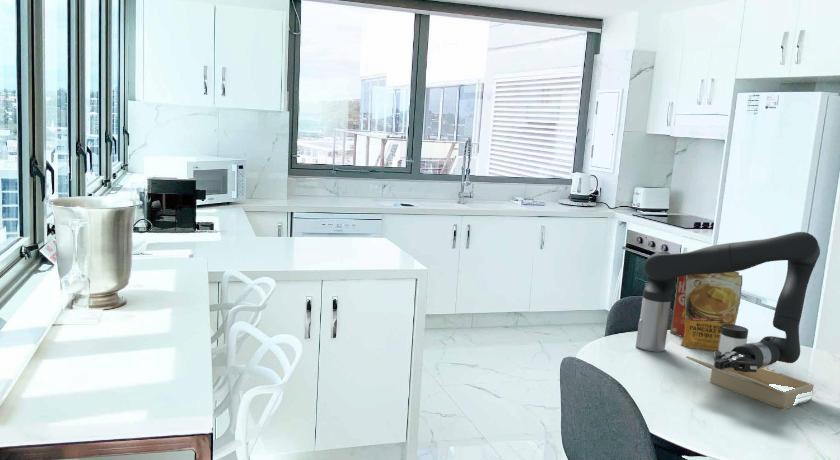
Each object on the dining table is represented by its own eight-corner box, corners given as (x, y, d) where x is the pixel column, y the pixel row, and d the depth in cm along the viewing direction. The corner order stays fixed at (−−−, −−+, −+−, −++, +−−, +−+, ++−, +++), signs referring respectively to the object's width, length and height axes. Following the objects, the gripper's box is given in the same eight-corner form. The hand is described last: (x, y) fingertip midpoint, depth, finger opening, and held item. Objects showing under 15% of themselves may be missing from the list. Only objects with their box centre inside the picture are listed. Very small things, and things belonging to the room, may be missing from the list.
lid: (686, 356, 197) (685, 358, 197) (759, 380, 180) (758, 383, 180) (713, 367, 207) (712, 369, 207) (784, 392, 190) (783, 394, 190)
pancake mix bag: (674, 341, 249) (685, 264, 245) (731, 349, 245) (743, 271, 241) (677, 346, 243) (688, 268, 239) (735, 354, 239) (747, 274, 235)
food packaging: (668, 333, 260) (677, 267, 256) (678, 329, 267) (687, 265, 263) (704, 342, 251) (714, 274, 247) (714, 338, 258) (723, 272, 254)
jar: (749, 365, 228) (754, 329, 227) (737, 368, 223) (742, 332, 221) (722, 356, 235) (727, 322, 233) (710, 360, 230) (715, 325, 228)
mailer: (738, 374, 218) (740, 360, 217) (811, 399, 200) (813, 384, 199) (709, 382, 208) (712, 367, 207) (783, 409, 191) (786, 393, 190)
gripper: (731, 337, 202) (697, 344, 192) (776, 350, 192) (743, 359, 182) (727, 362, 203) (693, 370, 193) (772, 377, 193) (739, 386, 183)
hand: (717, 365), depth 187 cm, fingers closed
